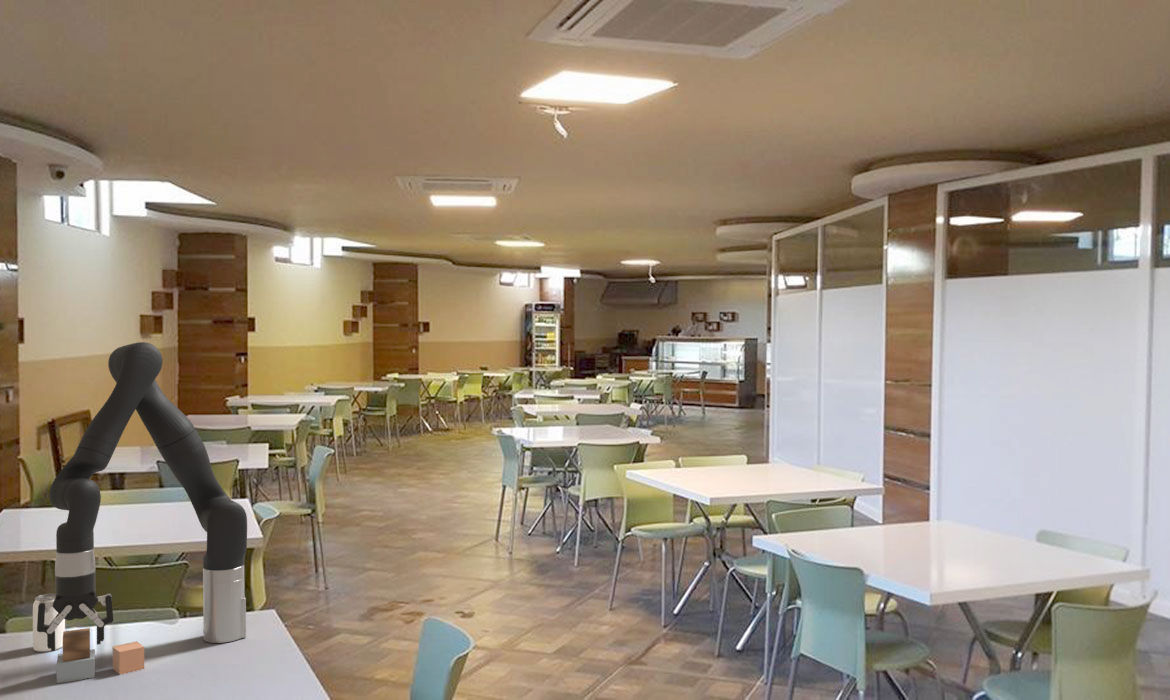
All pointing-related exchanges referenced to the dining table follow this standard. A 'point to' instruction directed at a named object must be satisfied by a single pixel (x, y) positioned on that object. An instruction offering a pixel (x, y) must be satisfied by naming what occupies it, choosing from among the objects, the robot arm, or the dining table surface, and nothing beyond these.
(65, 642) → the walnut cube
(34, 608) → the can
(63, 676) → the base block
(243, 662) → the dining table surface
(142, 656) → the terracotta cube
